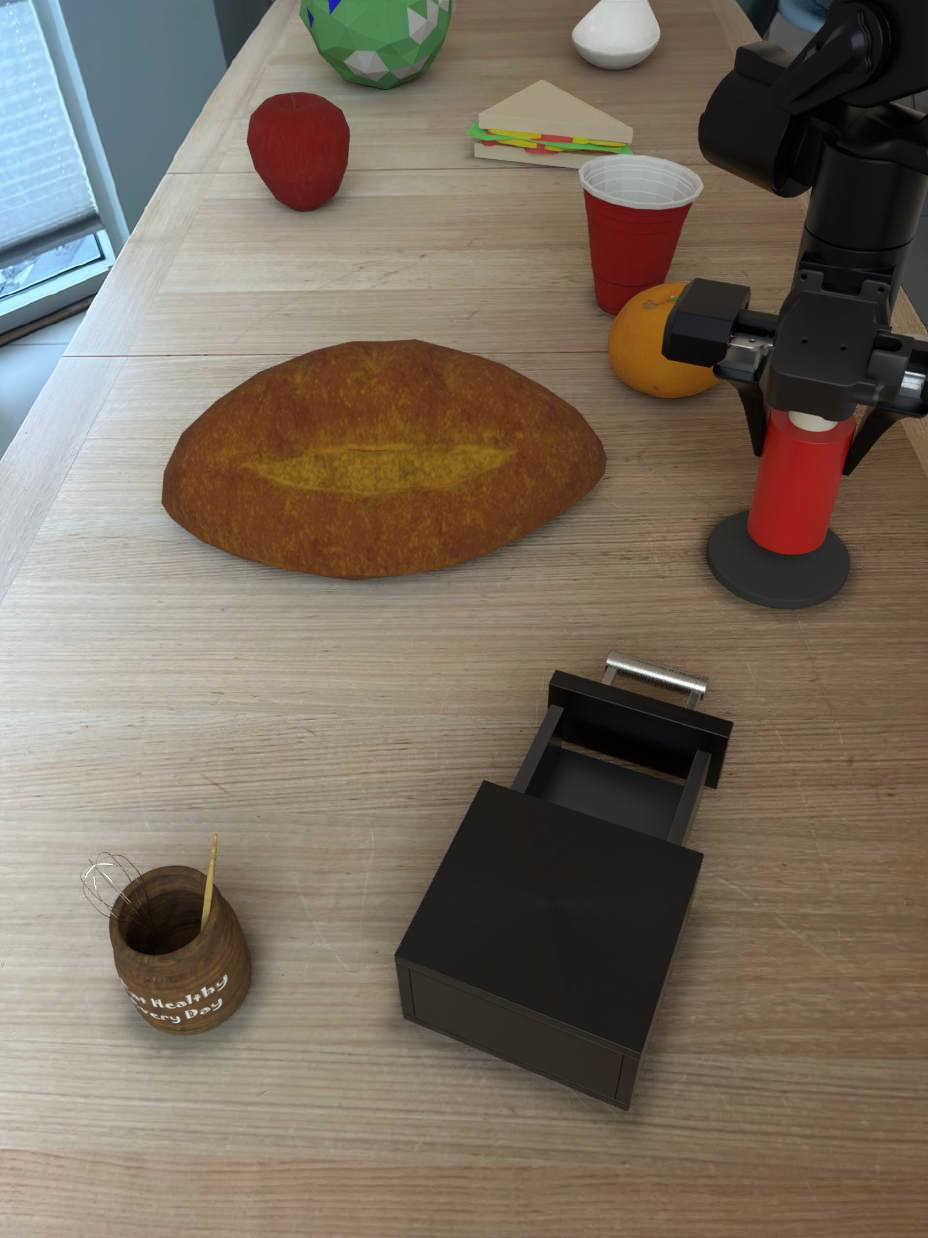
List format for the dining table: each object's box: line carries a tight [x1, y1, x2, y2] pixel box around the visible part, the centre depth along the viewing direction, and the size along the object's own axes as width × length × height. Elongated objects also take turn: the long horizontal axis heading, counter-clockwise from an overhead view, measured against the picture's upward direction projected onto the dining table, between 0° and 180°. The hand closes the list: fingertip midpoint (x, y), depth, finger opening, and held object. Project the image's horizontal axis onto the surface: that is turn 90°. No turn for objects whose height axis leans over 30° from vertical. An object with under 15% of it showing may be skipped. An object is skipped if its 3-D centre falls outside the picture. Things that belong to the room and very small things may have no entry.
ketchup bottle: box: [747, 407, 857, 555], centre depth 69 cm, size 5×5×11 cm
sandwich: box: [465, 79, 635, 170], centre depth 122 cm, size 15×20×5 cm
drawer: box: [509, 649, 735, 848], centre depth 59 cm, size 14×10×5 cm
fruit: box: [607, 281, 721, 399], centre depth 88 cm, size 10×10×8 cm
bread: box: [160, 338, 608, 581], centre depth 76 cm, size 21×33×12 cm, turn 92°
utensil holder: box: [79, 832, 252, 1037], centre depth 49 cm, size 6×6×12 cm
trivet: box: [706, 509, 851, 610], centre depth 74 cm, size 10×10×1 cm
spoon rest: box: [571, 0, 661, 71], centre depth 147 cm, size 24×12×7 cm, turn 167°
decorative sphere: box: [298, 0, 457, 90], centre depth 136 cm, size 19×20×20 cm
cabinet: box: [393, 779, 705, 1112], centre depth 51 cm, size 10×11×6 cm
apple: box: [246, 91, 351, 213], centre depth 113 cm, size 11×11×12 cm
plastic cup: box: [577, 154, 705, 316], centre depth 96 cm, size 11×11×12 cm
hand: (801, 462), depth 68 cm, fingers closed on ketchup bottle, 5 cm apart
